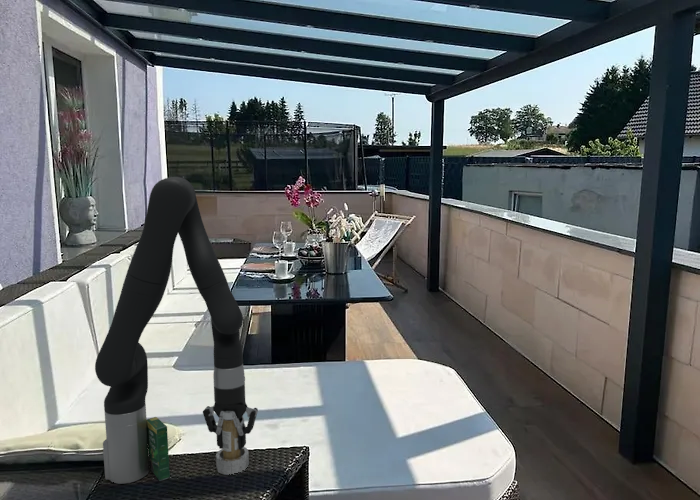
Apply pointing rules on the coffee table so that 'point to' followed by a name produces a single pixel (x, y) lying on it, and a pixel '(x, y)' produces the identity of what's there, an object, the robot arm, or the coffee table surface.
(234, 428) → the sprinkles bottle
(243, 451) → the aluminium ring
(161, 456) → the coffee box
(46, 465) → the coffee table surface
